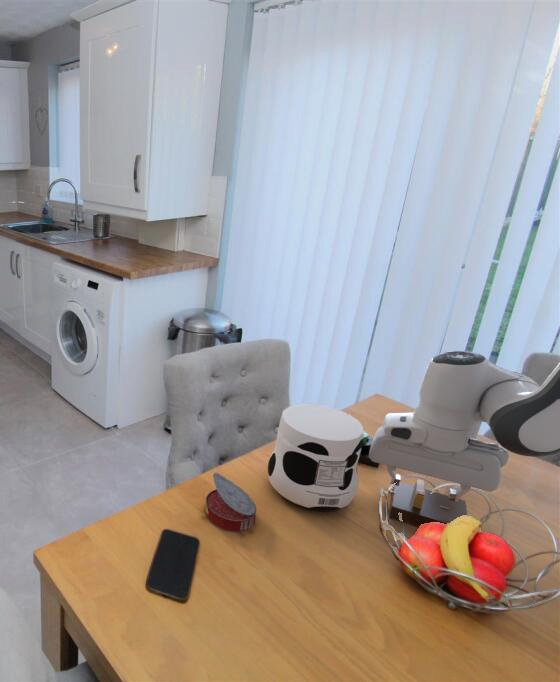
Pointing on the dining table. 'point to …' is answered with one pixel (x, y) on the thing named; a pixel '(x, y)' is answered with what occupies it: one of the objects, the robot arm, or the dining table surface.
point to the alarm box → (367, 454)
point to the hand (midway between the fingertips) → (422, 491)
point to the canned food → (229, 506)
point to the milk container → (316, 457)
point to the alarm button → (365, 437)
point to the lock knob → (418, 493)
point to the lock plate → (424, 507)
